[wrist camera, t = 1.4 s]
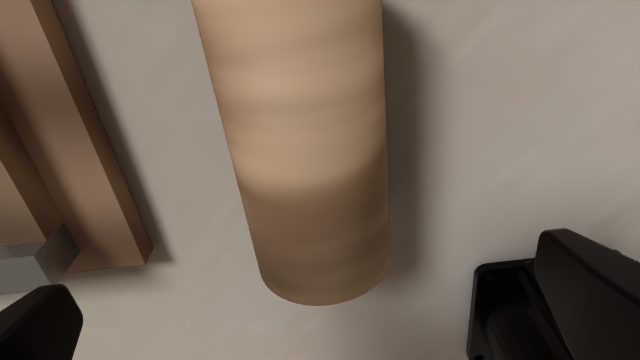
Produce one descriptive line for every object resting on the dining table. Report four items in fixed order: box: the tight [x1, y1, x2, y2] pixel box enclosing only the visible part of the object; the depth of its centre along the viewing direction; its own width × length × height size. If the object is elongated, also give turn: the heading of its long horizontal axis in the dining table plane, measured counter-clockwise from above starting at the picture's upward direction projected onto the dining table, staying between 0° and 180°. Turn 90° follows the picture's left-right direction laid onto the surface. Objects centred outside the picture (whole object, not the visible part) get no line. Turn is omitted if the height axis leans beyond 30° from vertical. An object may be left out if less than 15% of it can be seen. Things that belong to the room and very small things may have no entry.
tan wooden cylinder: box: [191, 0, 391, 306], centre depth 13 cm, size 9×5×5 cm, turn 7°
